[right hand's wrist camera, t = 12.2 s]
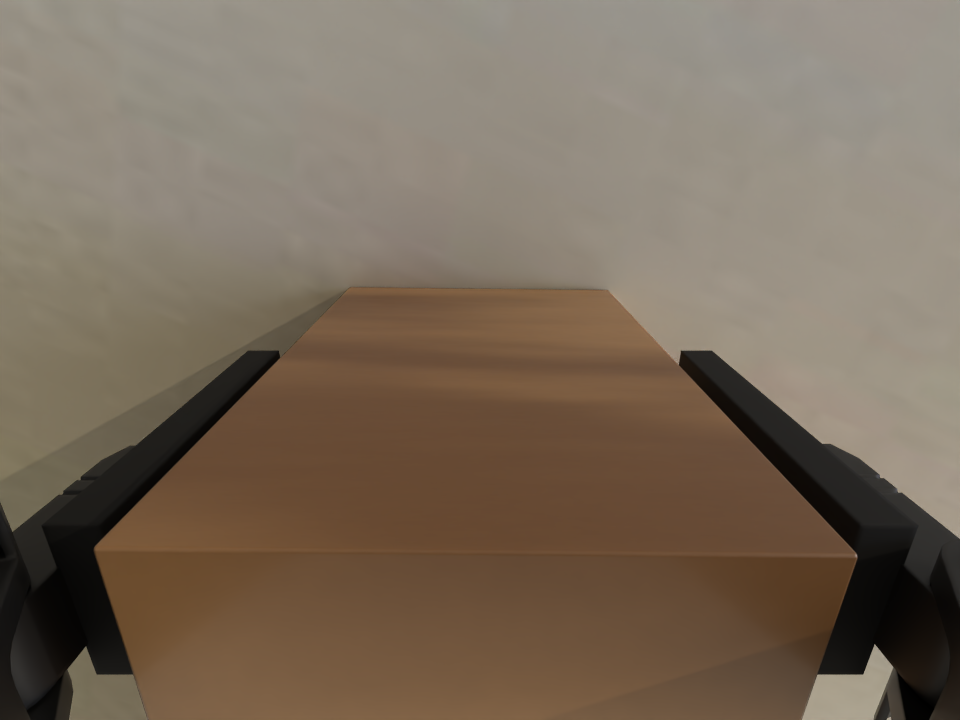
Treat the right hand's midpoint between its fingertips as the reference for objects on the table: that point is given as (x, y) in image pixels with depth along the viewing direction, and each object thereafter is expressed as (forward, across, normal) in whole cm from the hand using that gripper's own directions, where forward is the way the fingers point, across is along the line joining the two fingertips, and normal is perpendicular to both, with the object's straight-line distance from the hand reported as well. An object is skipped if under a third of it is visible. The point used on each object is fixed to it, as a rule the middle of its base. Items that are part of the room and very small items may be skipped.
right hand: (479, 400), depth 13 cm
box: (+5, 0, -13) cm, 14 cm away
